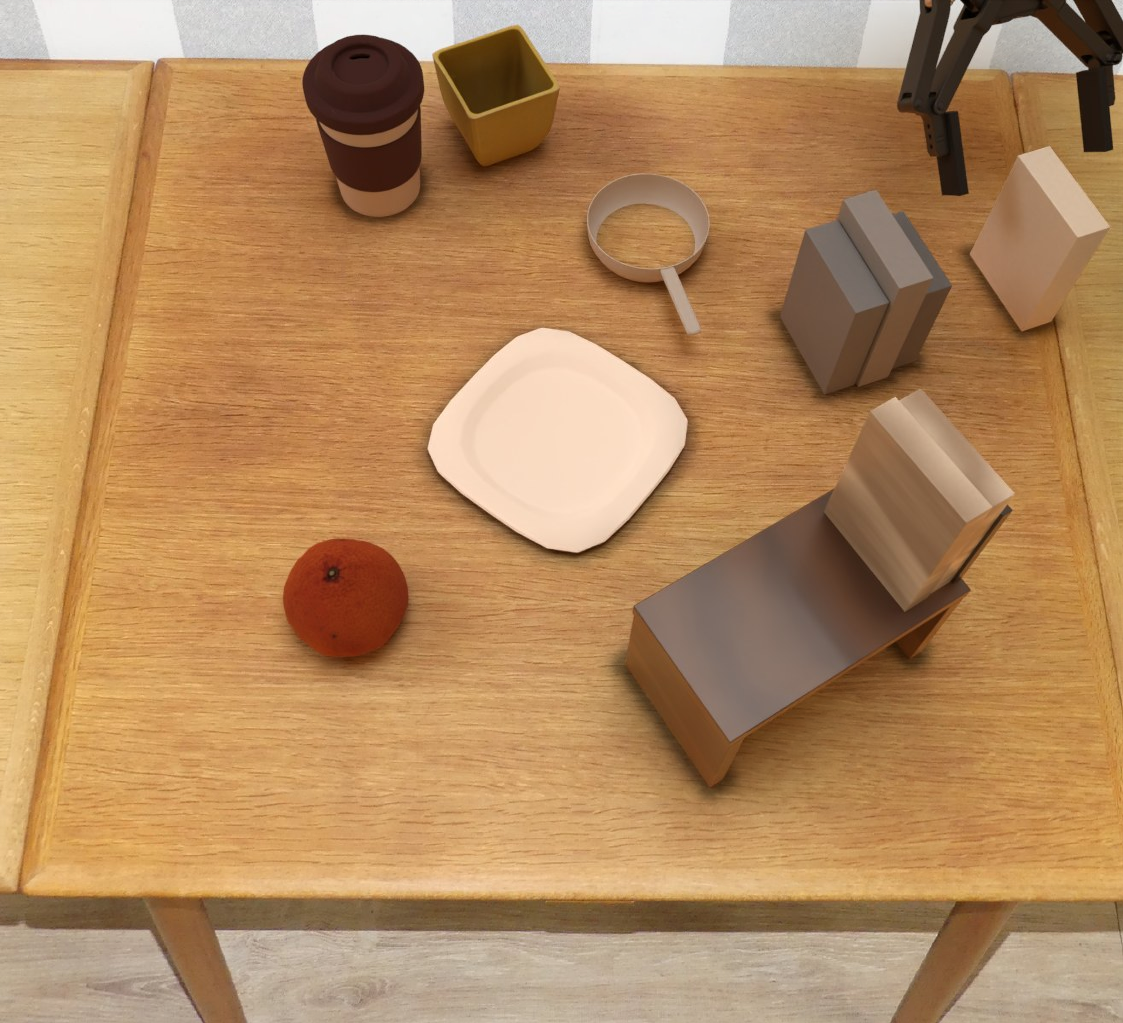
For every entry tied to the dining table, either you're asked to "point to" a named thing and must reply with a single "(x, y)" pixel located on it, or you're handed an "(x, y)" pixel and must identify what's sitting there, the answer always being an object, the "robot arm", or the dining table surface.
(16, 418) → the dining table surface
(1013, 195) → the white book
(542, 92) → the flower pot
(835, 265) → the grey books
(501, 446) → the plate
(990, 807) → the dining table surface
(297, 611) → the fruit
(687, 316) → the saucepan
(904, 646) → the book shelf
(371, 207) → the coffee cup
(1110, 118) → the robot arm
